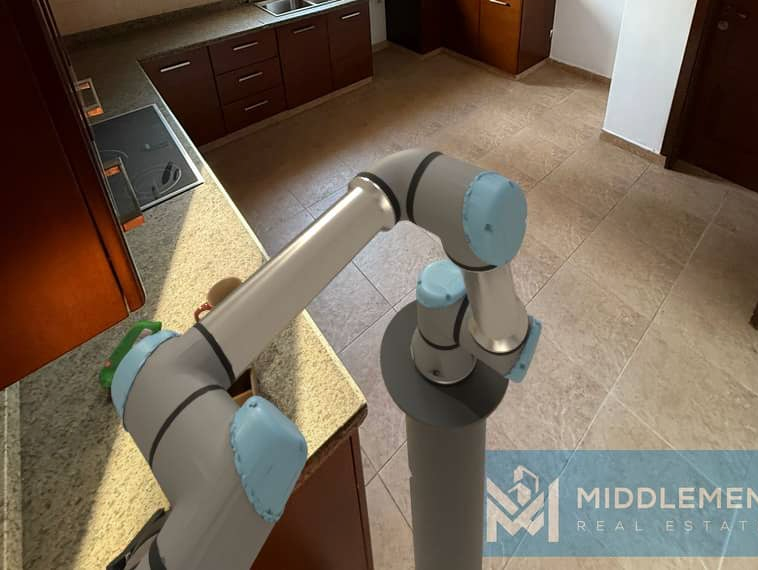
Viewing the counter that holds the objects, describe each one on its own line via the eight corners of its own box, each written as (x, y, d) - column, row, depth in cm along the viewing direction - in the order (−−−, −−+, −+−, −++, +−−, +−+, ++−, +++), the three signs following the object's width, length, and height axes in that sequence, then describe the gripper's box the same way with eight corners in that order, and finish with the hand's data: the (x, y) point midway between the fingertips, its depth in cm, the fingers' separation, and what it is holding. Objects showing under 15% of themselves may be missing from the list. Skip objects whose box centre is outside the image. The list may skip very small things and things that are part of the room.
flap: (251, 389, 77) (252, 391, 77) (255, 399, 81) (255, 402, 81) (159, 432, 72) (159, 435, 71) (167, 441, 75) (167, 443, 75)
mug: (244, 300, 114) (238, 271, 111) (255, 325, 107) (249, 294, 104) (196, 327, 107) (188, 297, 104) (205, 355, 100) (196, 323, 97)
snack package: (170, 328, 107) (165, 313, 106) (125, 397, 93) (119, 380, 91) (144, 326, 108) (139, 311, 107) (95, 394, 93) (89, 377, 92)
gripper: (77, 701, 35) (145, 549, 55) (244, 594, 40) (251, 491, 59) (74, 576, 38) (140, 475, 57) (230, 491, 43) (242, 425, 62)
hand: (197, 483), depth 58 cm, fingers closed
